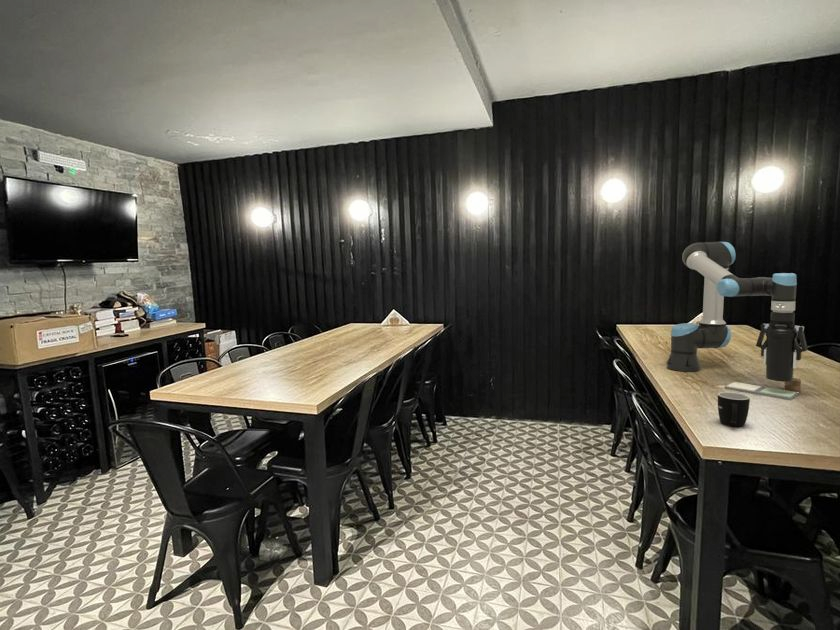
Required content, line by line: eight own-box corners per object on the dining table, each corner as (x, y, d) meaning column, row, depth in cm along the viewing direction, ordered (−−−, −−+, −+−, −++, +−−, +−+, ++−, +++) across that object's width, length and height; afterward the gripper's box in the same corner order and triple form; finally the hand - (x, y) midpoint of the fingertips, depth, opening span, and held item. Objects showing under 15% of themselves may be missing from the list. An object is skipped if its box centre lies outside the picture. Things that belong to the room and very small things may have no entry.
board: (724, 388, 194) (724, 385, 193) (734, 383, 200) (734, 381, 200) (790, 400, 175) (791, 397, 175) (799, 394, 182) (799, 391, 181)
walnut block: (784, 391, 187) (785, 379, 186) (784, 388, 191) (785, 377, 190) (800, 393, 184) (800, 381, 183) (799, 390, 188) (800, 378, 187)
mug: (716, 418, 159) (717, 390, 158) (747, 421, 154) (748, 393, 153) (717, 429, 149) (718, 400, 148) (750, 433, 144) (752, 403, 143)
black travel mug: (796, 378, 182) (799, 322, 180) (794, 383, 175) (797, 325, 172) (765, 374, 189) (767, 321, 187) (762, 379, 182) (764, 324, 179)
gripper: (747, 310, 185) (745, 363, 188) (815, 313, 168) (811, 371, 170) (753, 309, 190) (751, 360, 192) (820, 312, 172) (817, 368, 175)
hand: (779, 365), depth 181 cm, fingers closed on black travel mug, 9 cm apart
